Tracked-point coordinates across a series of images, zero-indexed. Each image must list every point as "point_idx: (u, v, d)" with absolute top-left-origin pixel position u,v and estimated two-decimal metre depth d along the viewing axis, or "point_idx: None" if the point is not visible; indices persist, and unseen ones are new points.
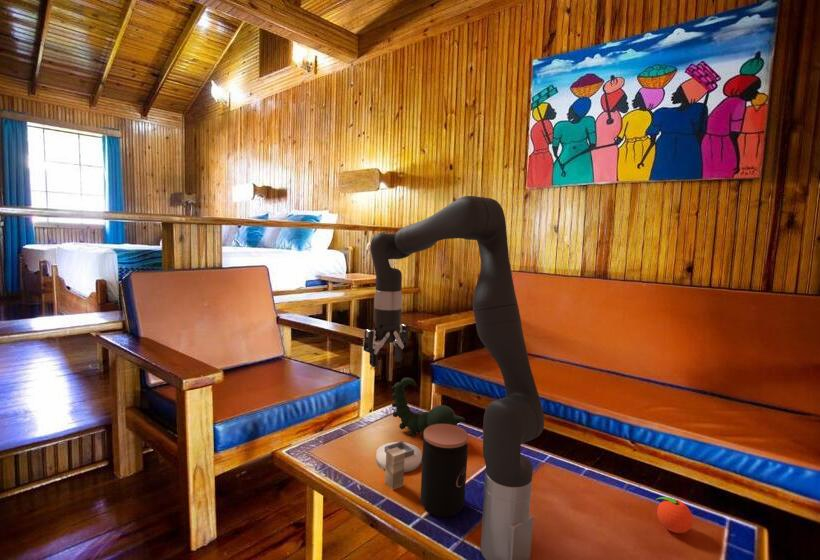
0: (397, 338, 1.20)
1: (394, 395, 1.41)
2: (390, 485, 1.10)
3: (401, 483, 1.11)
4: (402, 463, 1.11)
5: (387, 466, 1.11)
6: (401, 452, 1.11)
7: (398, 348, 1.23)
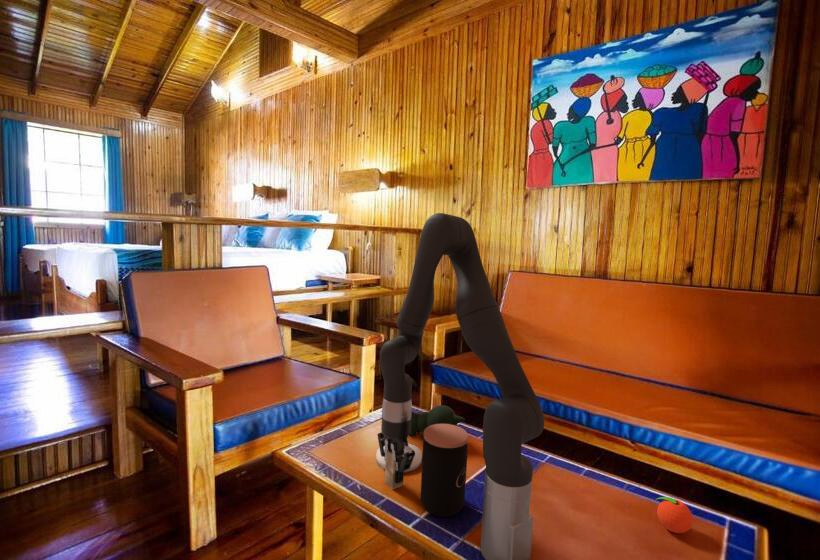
0: None
1: None
2: (390, 485, 1.10)
3: (401, 483, 1.11)
4: None
5: (387, 466, 1.11)
6: None
7: None
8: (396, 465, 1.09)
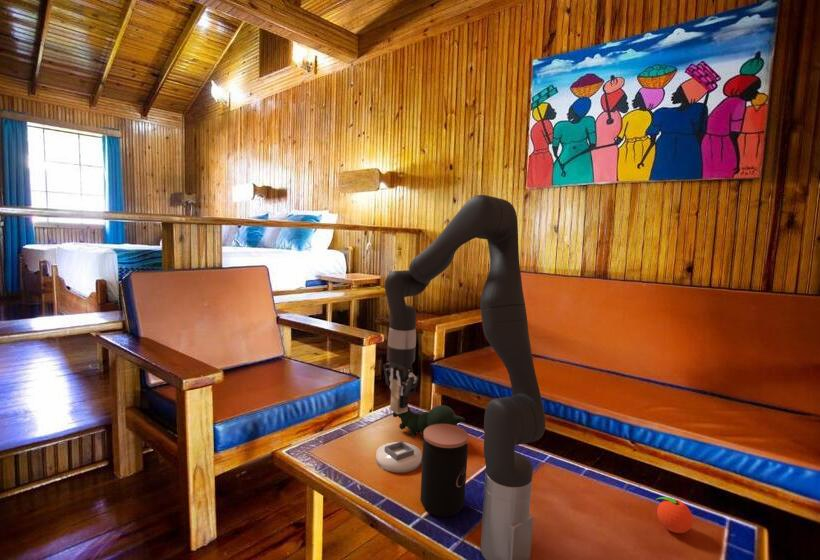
0: None
1: None
2: (395, 410, 1.17)
3: (405, 409, 1.18)
4: None
5: (392, 393, 1.18)
6: None
7: None
8: (401, 390, 1.16)
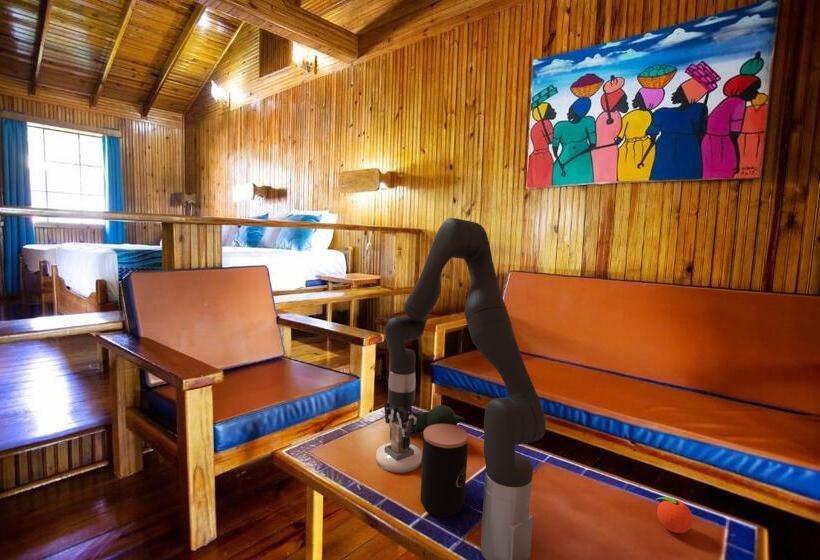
0: None
1: None
2: (396, 453, 1.22)
3: (405, 451, 1.23)
4: None
5: (393, 436, 1.23)
6: (405, 423, 1.22)
7: None
8: (403, 432, 1.20)
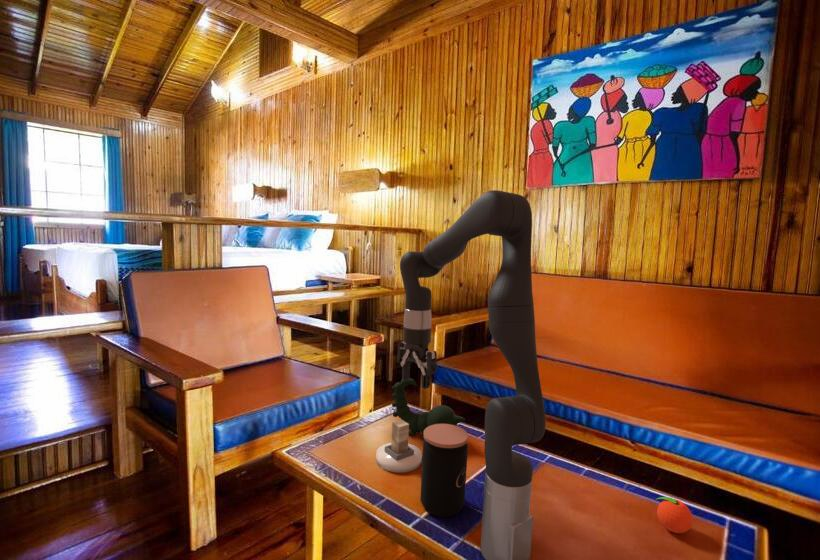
0: None
1: (394, 395, 1.41)
2: (396, 453, 1.22)
3: None
4: (406, 433, 1.22)
5: (393, 436, 1.23)
6: (406, 424, 1.22)
7: (407, 366, 1.22)
8: (423, 370, 1.14)
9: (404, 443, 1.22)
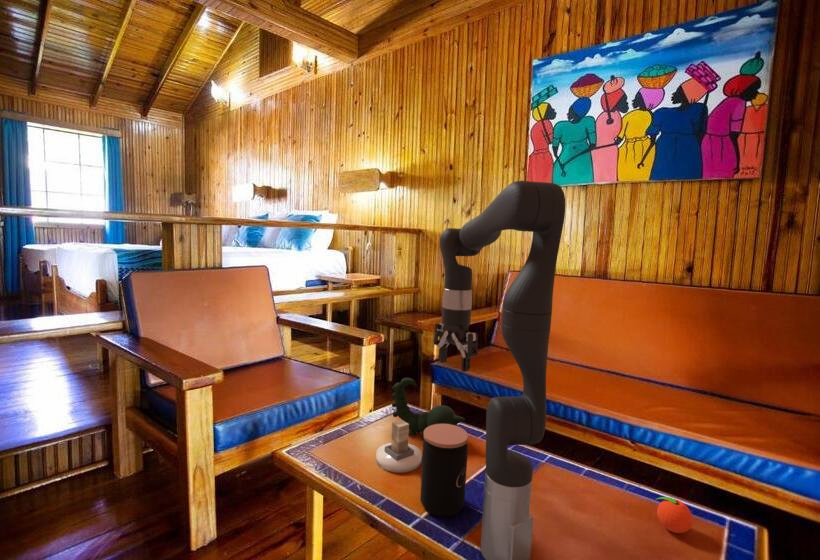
0: None
1: (394, 395, 1.41)
2: (396, 453, 1.22)
3: None
4: (406, 433, 1.22)
5: (393, 436, 1.23)
6: (406, 424, 1.22)
7: (445, 348, 1.17)
8: (463, 352, 1.10)
9: (404, 443, 1.22)
